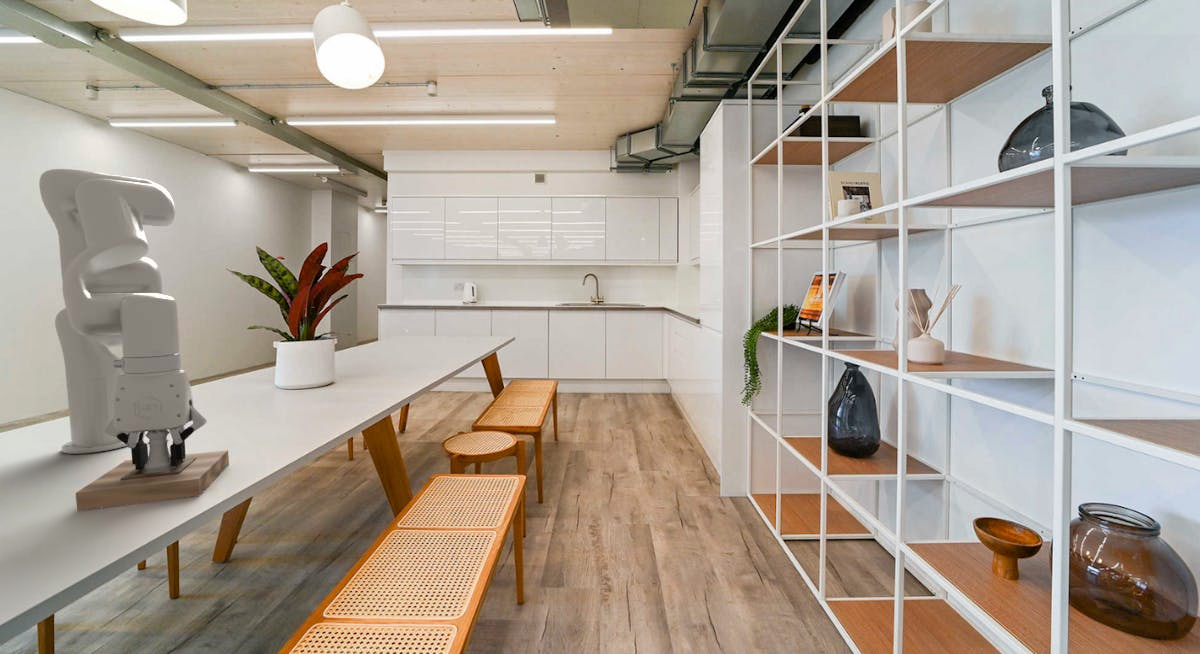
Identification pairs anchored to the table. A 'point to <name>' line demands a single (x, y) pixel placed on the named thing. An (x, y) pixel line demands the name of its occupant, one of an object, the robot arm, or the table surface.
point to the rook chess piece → (158, 453)
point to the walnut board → (153, 482)
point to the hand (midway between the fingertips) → (159, 464)
